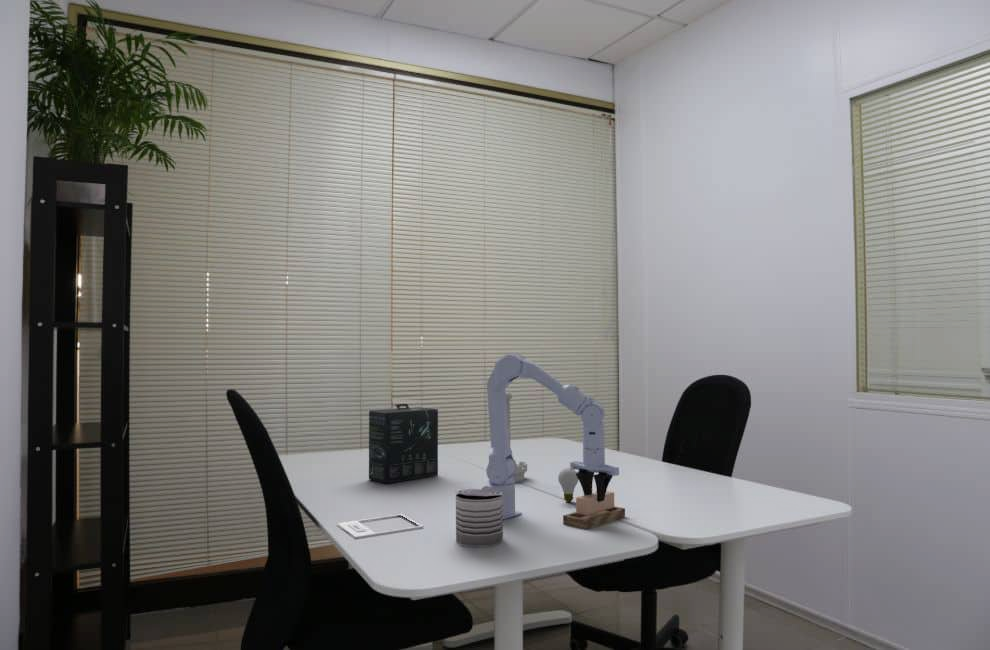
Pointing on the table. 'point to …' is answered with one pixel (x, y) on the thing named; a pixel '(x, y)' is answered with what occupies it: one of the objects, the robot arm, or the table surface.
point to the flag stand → (520, 467)
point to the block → (594, 503)
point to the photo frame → (362, 531)
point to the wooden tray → (593, 518)
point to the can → (479, 518)
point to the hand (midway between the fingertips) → (594, 499)
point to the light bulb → (568, 482)
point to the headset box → (403, 444)
